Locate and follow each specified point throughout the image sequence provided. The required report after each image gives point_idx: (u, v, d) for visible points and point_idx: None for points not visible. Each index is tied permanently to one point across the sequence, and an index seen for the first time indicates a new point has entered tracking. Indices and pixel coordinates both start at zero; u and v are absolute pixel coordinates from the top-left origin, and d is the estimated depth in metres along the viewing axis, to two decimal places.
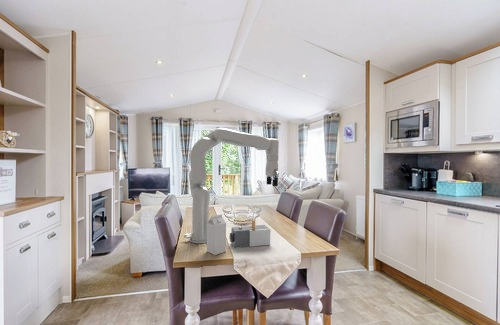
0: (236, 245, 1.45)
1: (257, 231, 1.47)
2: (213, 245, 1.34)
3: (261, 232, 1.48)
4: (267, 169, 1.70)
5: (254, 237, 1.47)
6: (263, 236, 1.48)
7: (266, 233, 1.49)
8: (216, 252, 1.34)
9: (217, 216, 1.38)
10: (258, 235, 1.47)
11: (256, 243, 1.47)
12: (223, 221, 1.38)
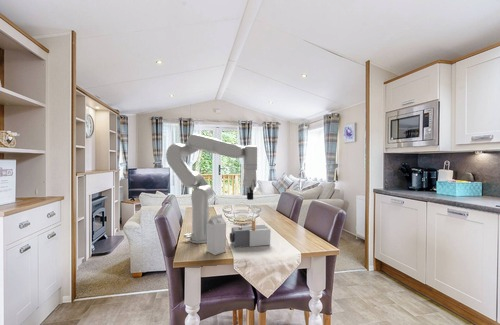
0: (236, 245, 1.45)
1: (257, 231, 1.47)
2: (213, 245, 1.34)
3: (261, 232, 1.48)
4: (245, 179, 1.53)
5: (254, 237, 1.47)
6: (263, 236, 1.48)
7: (266, 233, 1.49)
8: (216, 252, 1.34)
9: (217, 216, 1.38)
10: (258, 235, 1.47)
11: (256, 243, 1.47)
12: (223, 221, 1.38)
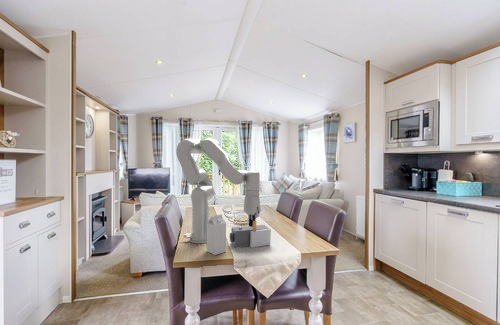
0: (236, 245, 1.45)
1: (258, 232, 1.46)
2: (213, 245, 1.34)
3: (262, 232, 1.47)
4: (246, 206, 1.48)
5: (255, 238, 1.45)
6: (264, 236, 1.48)
7: (266, 233, 1.49)
8: (216, 252, 1.34)
9: (217, 216, 1.38)
10: (259, 236, 1.47)
11: (257, 244, 1.46)
12: (223, 221, 1.38)
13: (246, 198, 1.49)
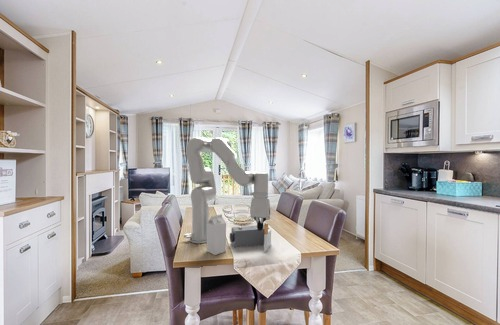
0: (236, 245, 1.45)
1: (268, 234, 1.43)
2: (213, 245, 1.34)
3: (269, 234, 1.45)
4: (256, 209, 1.40)
5: (267, 240, 1.41)
6: (269, 237, 1.46)
7: (270, 234, 1.48)
8: (216, 252, 1.34)
9: (217, 216, 1.38)
10: (268, 237, 1.43)
11: (267, 246, 1.42)
12: (223, 221, 1.38)
13: (255, 201, 1.40)
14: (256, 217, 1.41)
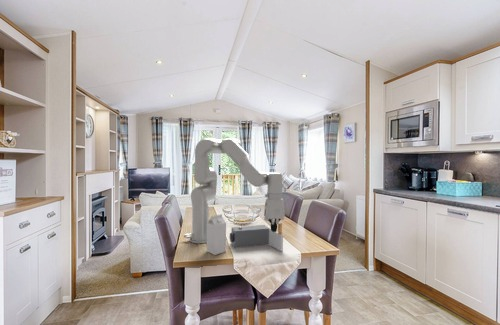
0: (236, 245, 1.45)
1: None
2: (213, 245, 1.34)
3: None
4: (274, 211, 1.37)
5: None
6: None
7: None
8: (216, 252, 1.34)
9: (217, 216, 1.38)
10: None
11: None
12: (223, 221, 1.38)
13: (273, 203, 1.37)
14: (272, 219, 1.38)
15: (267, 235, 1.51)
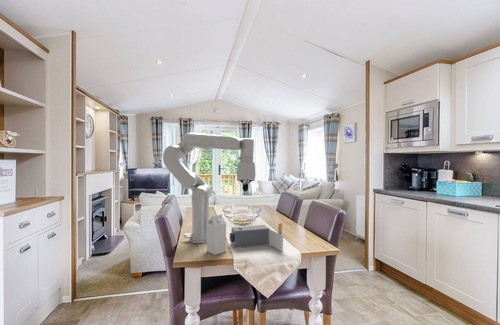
0: (236, 245, 1.45)
1: None
2: (213, 245, 1.34)
3: None
4: (245, 172, 1.52)
5: None
6: None
7: None
8: (216, 252, 1.34)
9: (217, 216, 1.38)
10: None
11: None
12: (223, 221, 1.38)
13: (244, 164, 1.52)
14: (243, 179, 1.54)
15: (267, 235, 1.51)
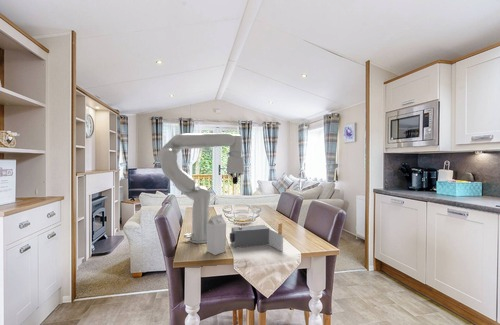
0: (236, 245, 1.45)
1: None
2: (213, 245, 1.34)
3: None
4: (234, 166, 1.64)
5: None
6: None
7: None
8: (216, 252, 1.34)
9: (217, 216, 1.38)
10: None
11: None
12: (223, 221, 1.38)
13: (233, 159, 1.64)
14: (233, 173, 1.66)
15: (267, 235, 1.51)
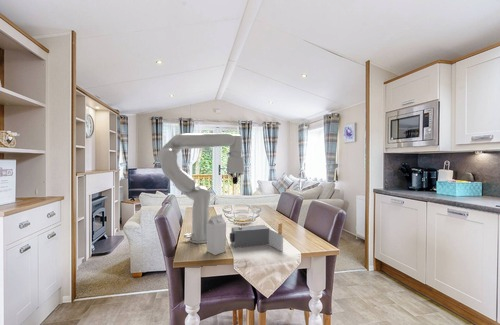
0: (236, 245, 1.45)
1: None
2: (213, 245, 1.34)
3: None
4: (234, 166, 1.64)
5: None
6: None
7: None
8: (216, 252, 1.34)
9: (217, 216, 1.38)
10: None
11: None
12: (223, 221, 1.38)
13: (233, 159, 1.64)
14: (233, 173, 1.66)
15: (267, 235, 1.51)
